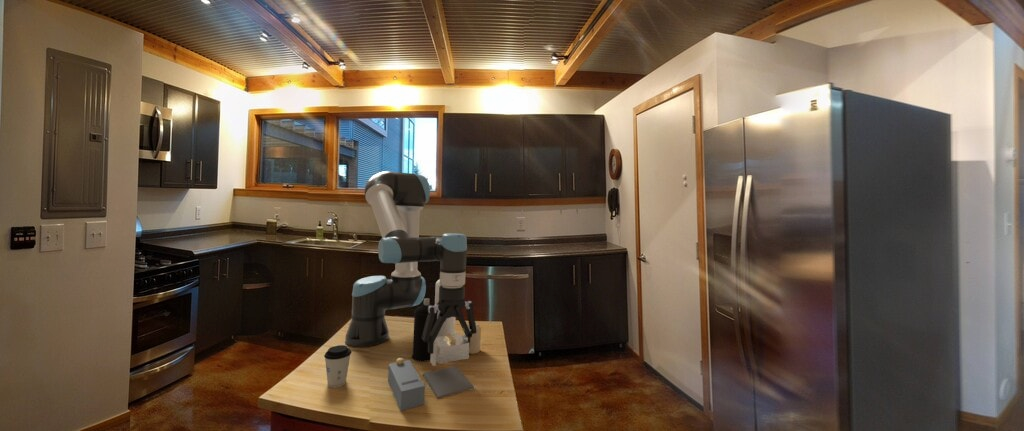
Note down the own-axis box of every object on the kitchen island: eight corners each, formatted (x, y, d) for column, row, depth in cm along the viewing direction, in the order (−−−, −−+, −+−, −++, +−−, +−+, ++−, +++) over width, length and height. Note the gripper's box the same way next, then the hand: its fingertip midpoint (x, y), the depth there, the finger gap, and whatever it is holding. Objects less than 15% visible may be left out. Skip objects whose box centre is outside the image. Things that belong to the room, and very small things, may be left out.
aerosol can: (429, 363, 108) (432, 303, 107) (407, 359, 109) (409, 300, 109) (440, 352, 116) (442, 297, 115) (418, 349, 117) (421, 294, 117)
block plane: (387, 380, 96) (388, 360, 96) (408, 376, 99) (409, 356, 99) (400, 410, 82) (401, 386, 82) (424, 404, 85) (425, 381, 85)
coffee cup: (353, 376, 97) (355, 343, 97) (345, 389, 90) (347, 353, 90) (328, 377, 96) (329, 343, 96) (318, 390, 89) (320, 354, 89)
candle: (465, 347, 121) (466, 320, 121) (480, 347, 122) (481, 321, 122) (464, 353, 116) (465, 326, 116) (479, 354, 116) (481, 326, 116)
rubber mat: (422, 374, 100) (422, 373, 100) (456, 367, 106) (456, 365, 106) (437, 398, 88) (437, 396, 88) (474, 388, 94) (474, 386, 94)
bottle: (431, 339, 126) (434, 268, 126) (451, 337, 130) (454, 267, 129) (435, 348, 119) (438, 272, 119) (456, 345, 123) (460, 271, 122)
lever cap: (430, 352, 98) (431, 334, 98) (458, 347, 103) (458, 330, 102) (439, 364, 91) (439, 344, 91) (468, 357, 96) (469, 339, 96)
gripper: (419, 291, 88) (415, 374, 88) (490, 285, 99) (487, 358, 99) (412, 285, 94) (408, 362, 94) (479, 280, 105) (476, 348, 106)
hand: (448, 360), depth 97 cm, fingers closed on lever cap, 9 cm apart
